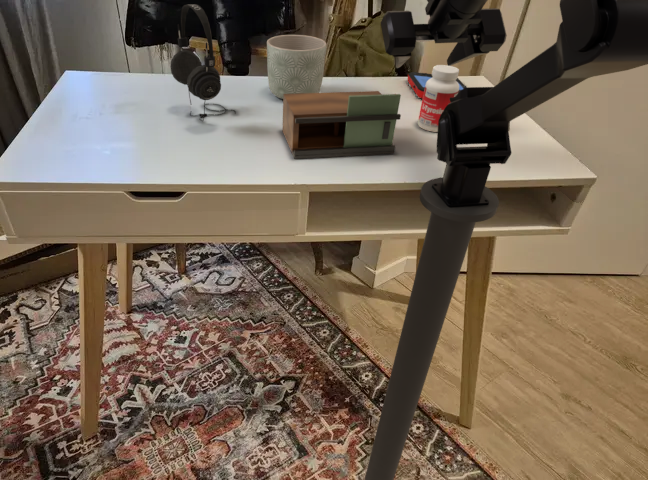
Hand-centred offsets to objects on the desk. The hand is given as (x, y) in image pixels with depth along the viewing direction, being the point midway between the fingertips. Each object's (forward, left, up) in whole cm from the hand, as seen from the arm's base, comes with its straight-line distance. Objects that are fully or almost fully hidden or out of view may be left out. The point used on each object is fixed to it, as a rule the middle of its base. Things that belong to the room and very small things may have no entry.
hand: (422, 64), depth 85 cm
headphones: (+14, +36, -14) cm, 41 cm away
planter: (+25, +17, -14) cm, 33 cm away
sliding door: (-4, +9, -12) cm, 16 cm away
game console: (+25, -17, -14) cm, 33 cm away
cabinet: (0, +14, -13) cm, 19 cm away
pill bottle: (+5, -7, -14) cm, 16 cm away
